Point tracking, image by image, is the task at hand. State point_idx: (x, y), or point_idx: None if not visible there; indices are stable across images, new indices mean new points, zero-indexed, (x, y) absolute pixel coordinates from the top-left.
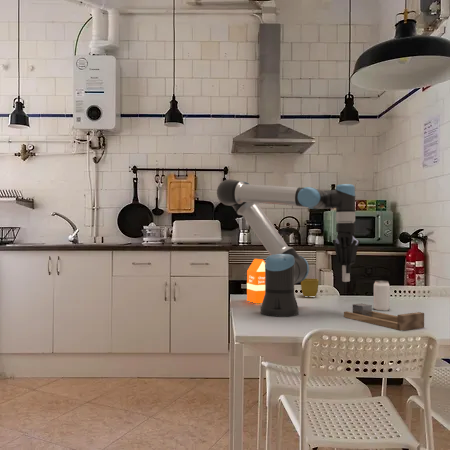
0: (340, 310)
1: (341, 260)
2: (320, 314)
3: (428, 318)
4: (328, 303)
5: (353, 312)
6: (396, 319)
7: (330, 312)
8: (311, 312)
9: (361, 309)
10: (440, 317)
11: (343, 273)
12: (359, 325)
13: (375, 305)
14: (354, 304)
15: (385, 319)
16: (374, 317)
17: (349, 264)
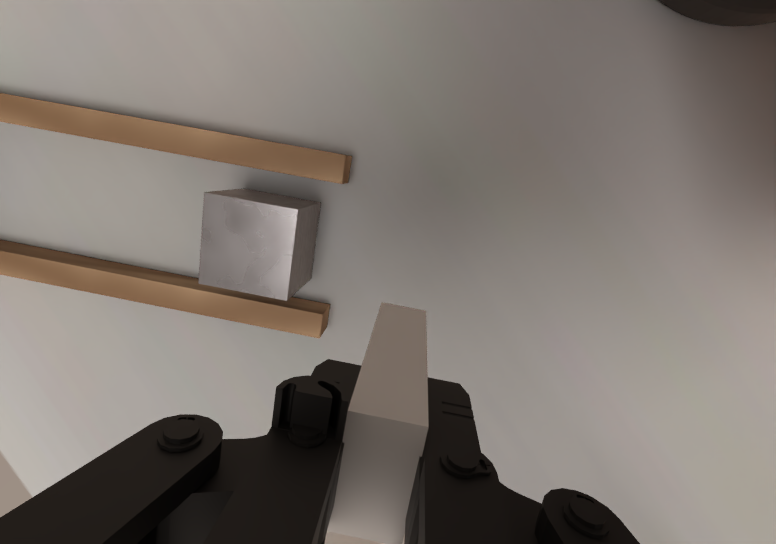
0: (503, 334)
1: (464, 521)
2: (507, 104)
3: None
4: (710, 491)
5: (305, 203)
6: (77, 260)
7: (505, 224)
8: (598, 114)
9: (224, 192)
10: None
11: (399, 345)
12: (134, 5)
13: None
14: (286, 215)
15: (157, 271)
16: None
17: (240, 445)
